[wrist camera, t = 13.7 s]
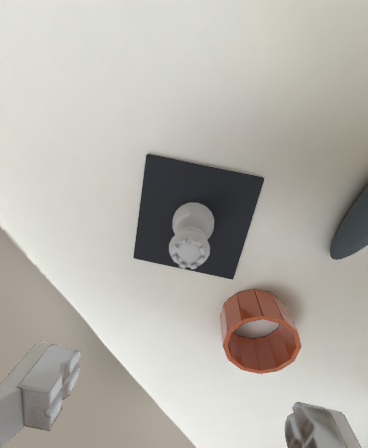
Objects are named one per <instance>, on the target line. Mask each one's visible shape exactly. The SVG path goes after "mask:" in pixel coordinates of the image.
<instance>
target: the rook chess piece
mask: <svg viewBox="0 0 368 448" xmlns="http://www.w3.org/2000/svg"><path fill="white" fill-rule="evenodd" d="M213 230H214V217H213V215H212V212H211V211H210V210H209V209H208V208H207V207H206V206H204V205H202V204H200V203H191V202H190V203H187V204H184V205H182V206H181V207H180V208H179V209H178V210H176V212H175V215H174V217H173V231H174V233H175V236H174V237H173V238H172V239H171V242H170V244H169V253H170V255H171V257H172V259H173V260H174V263H175V262H176V263H177V264H179V267H181V268H183V269H185V267H191V270H192V269H195V268H197V266H200V265H201V264H202V263H204V262H205V261H206V260H207V258H208V256H209V254H210V246H209V243H208V241H207V239H209V238H210V236H211V234H212V232H213Z"/></svg>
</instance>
